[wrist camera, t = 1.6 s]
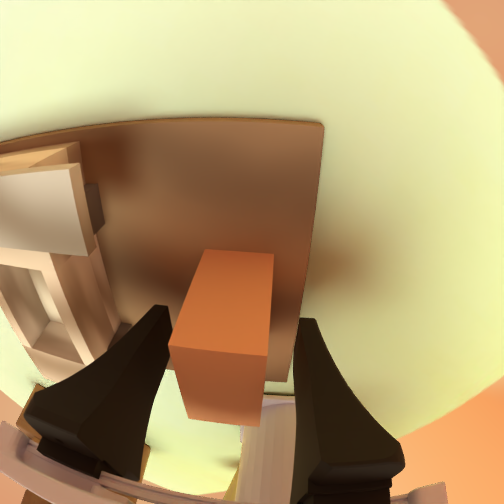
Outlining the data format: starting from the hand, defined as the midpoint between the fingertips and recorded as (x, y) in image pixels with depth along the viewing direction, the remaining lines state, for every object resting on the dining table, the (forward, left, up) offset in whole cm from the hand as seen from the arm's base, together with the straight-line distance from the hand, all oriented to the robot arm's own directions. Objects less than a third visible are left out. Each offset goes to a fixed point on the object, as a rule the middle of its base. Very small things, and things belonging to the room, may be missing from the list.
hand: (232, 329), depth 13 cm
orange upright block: (0, 0, -2) cm, 2 cm away
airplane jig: (0, +7, -3) cm, 8 cm away
